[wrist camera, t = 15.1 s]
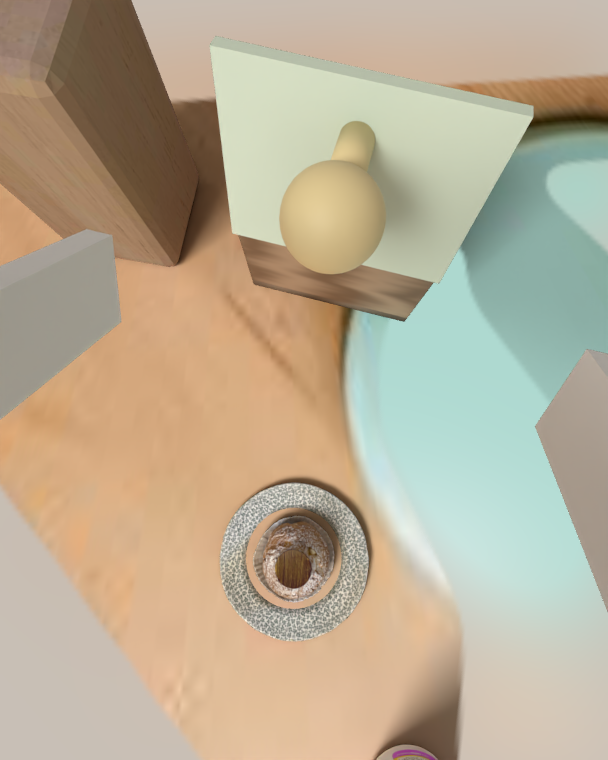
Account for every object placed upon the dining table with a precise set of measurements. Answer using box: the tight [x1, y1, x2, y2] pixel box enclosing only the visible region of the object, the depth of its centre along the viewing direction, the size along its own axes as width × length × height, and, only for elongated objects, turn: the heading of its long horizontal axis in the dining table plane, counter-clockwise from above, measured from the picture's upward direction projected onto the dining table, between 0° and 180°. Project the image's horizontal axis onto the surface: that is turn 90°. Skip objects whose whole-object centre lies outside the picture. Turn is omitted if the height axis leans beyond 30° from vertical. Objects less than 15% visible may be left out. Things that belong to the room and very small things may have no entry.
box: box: [239, 235, 434, 321], centre depth 34 cm, size 14×11×9 cm
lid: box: [210, 36, 533, 284], centre depth 22 cm, size 14×11×9 cm
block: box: [0, 0, 199, 267], centre depth 29 cm, size 10×10×20 cm
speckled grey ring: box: [220, 483, 369, 641], centre depth 32 cm, size 12×12×5 cm
